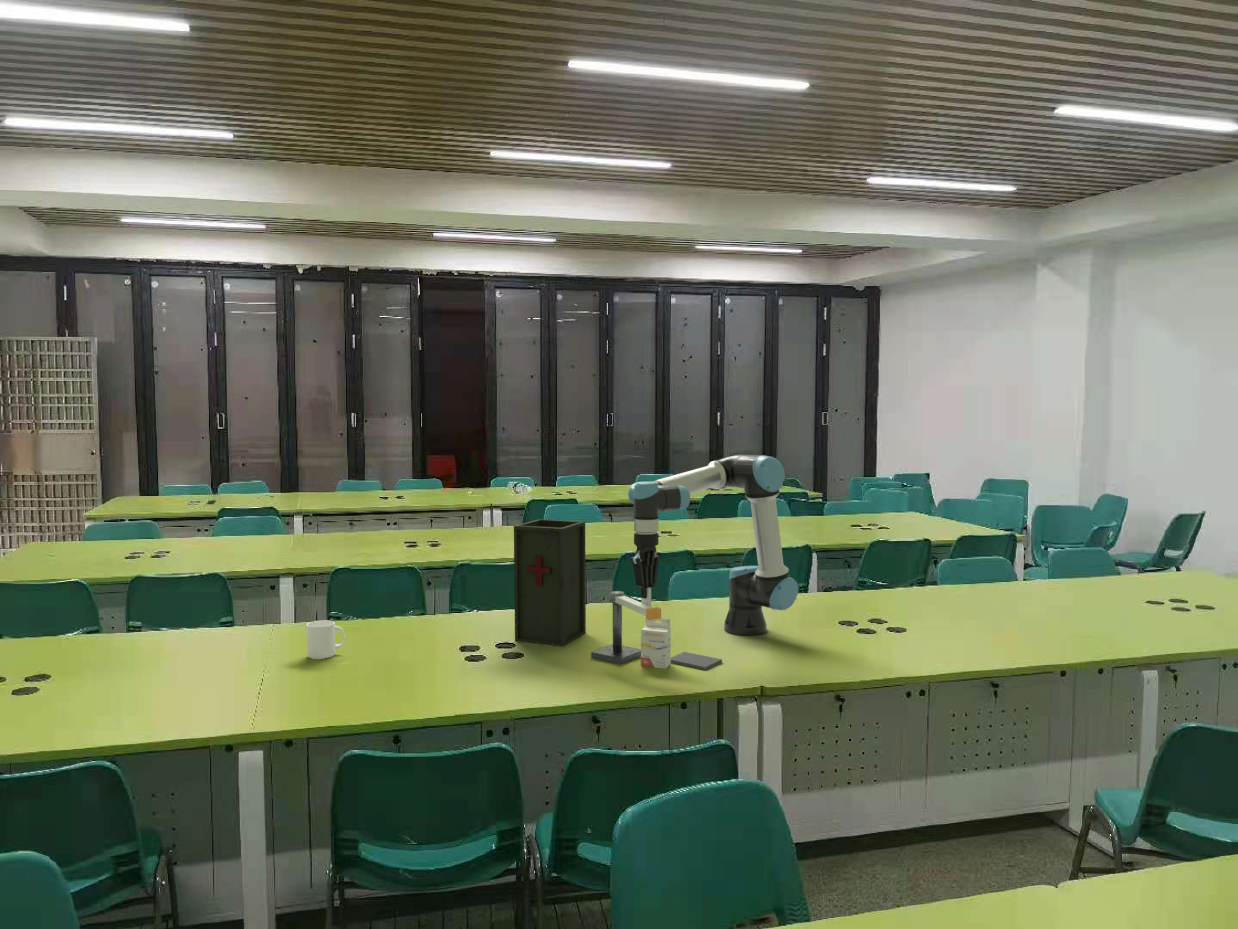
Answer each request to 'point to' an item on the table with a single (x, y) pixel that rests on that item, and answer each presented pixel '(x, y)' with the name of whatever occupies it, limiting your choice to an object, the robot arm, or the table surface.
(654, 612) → the bar
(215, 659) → the table surface
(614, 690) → the table surface
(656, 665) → the ink cartridge box
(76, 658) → the table surface
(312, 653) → the mug
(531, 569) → the first aid box
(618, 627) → the arm post
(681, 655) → the rubber mat
